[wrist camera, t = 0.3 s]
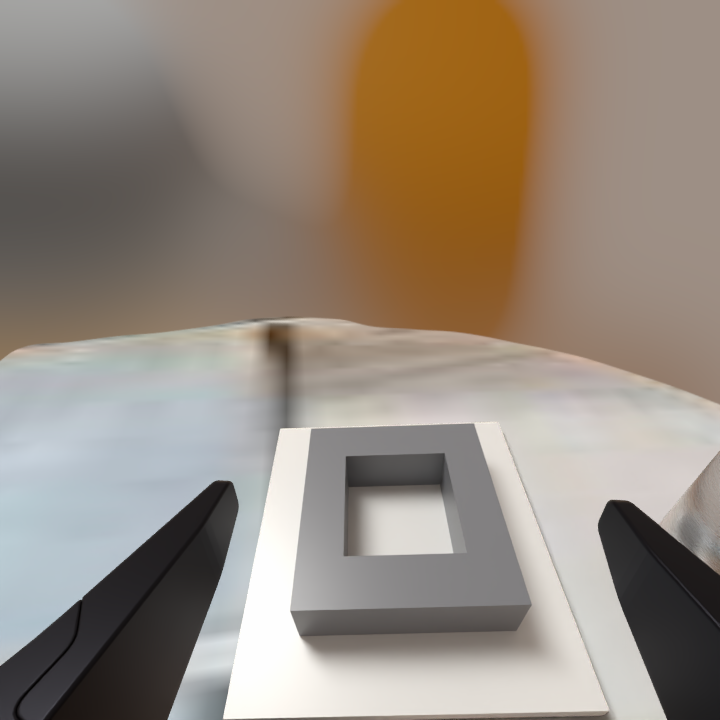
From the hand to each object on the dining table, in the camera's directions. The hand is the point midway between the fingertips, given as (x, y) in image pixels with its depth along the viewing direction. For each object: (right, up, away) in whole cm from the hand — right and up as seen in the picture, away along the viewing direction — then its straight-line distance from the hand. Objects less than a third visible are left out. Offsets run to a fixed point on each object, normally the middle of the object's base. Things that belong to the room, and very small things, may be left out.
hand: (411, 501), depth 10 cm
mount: (+1, -8, +16) cm, 18 cm away
